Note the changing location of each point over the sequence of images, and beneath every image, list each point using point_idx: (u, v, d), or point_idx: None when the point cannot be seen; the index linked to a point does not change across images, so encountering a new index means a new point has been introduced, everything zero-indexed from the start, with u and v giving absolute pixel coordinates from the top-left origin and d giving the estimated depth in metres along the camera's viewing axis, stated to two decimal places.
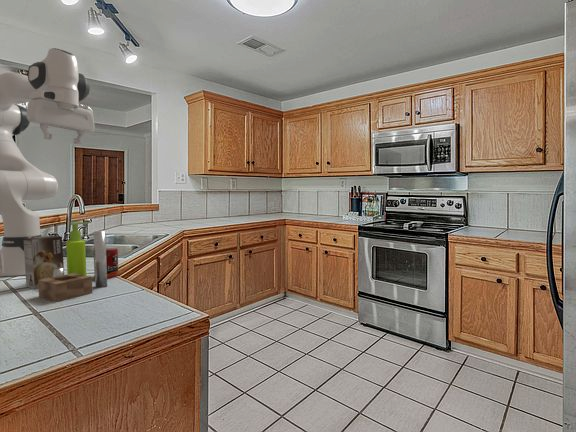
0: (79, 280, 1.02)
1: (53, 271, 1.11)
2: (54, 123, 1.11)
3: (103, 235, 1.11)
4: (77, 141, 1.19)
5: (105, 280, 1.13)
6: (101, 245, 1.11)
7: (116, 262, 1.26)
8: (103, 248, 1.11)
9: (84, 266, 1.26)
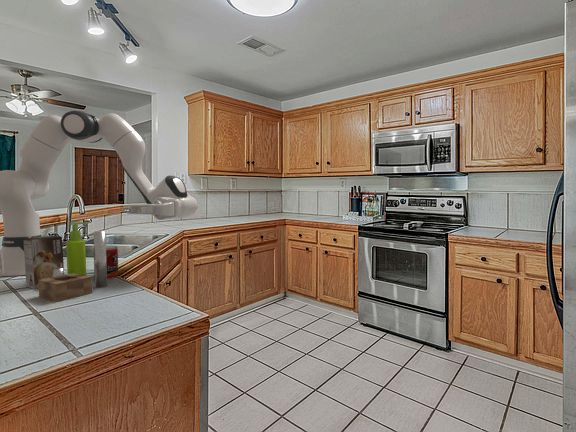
0: (79, 280, 1.02)
1: (53, 271, 1.11)
2: (150, 214, 1.25)
3: (103, 235, 1.11)
4: None
5: (105, 280, 1.13)
6: (101, 245, 1.11)
7: (116, 262, 1.26)
8: (103, 248, 1.11)
9: (84, 266, 1.26)
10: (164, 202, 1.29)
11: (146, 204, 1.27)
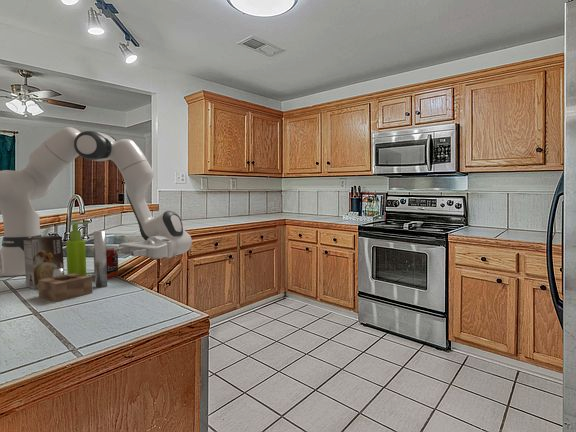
0: (79, 280, 1.02)
1: (53, 271, 1.11)
2: None
3: (103, 235, 1.11)
4: (118, 253, 1.23)
5: (105, 280, 1.13)
6: (101, 245, 1.11)
7: (116, 262, 1.26)
8: (103, 248, 1.11)
9: (84, 266, 1.26)
10: (157, 243, 1.27)
11: (139, 245, 1.25)
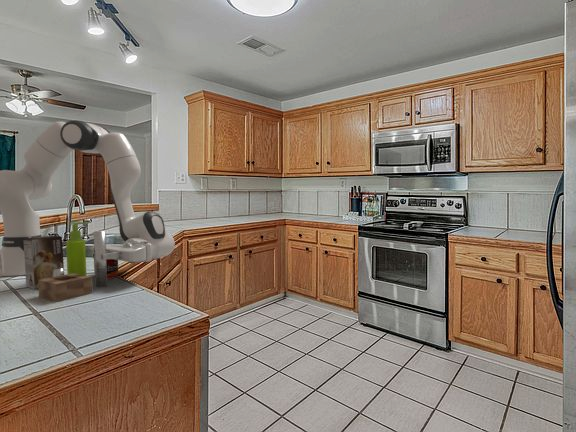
0: (79, 280, 1.02)
1: (53, 271, 1.11)
2: None
3: (103, 235, 1.11)
4: None
5: (105, 280, 1.13)
6: (101, 245, 1.11)
7: (116, 262, 1.26)
8: (103, 248, 1.12)
9: (84, 266, 1.26)
10: (135, 245, 1.19)
11: (115, 248, 1.16)
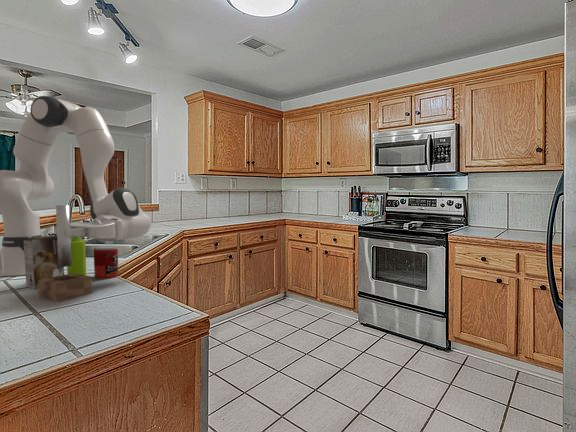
0: (79, 280, 1.02)
1: (53, 271, 1.11)
2: None
3: (67, 209, 1.01)
4: None
5: (69, 259, 1.03)
6: (64, 220, 1.01)
7: (116, 262, 1.26)
8: (67, 223, 1.02)
9: (84, 266, 1.26)
10: (104, 222, 1.09)
11: None
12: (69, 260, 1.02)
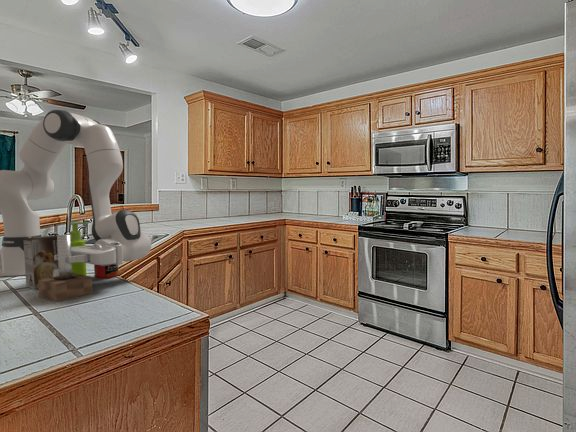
0: (79, 280, 1.02)
1: (53, 271, 1.11)
2: None
3: (68, 239, 1.02)
4: None
5: None
6: (65, 250, 1.01)
7: None
8: (68, 253, 1.02)
9: (84, 266, 1.26)
10: (105, 247, 1.09)
11: (82, 250, 1.07)
12: None
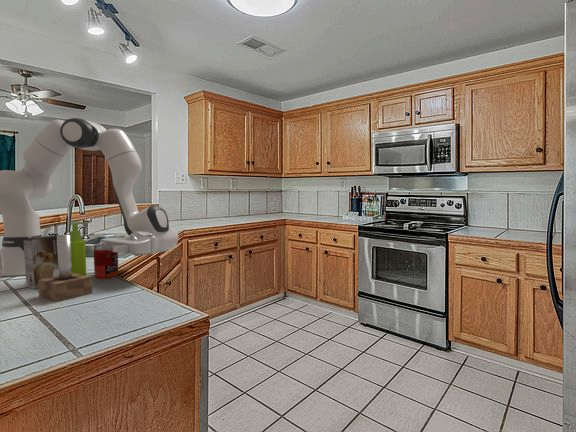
0: (79, 280, 1.02)
1: (53, 271, 1.11)
2: None
3: (67, 239, 1.02)
4: (97, 249, 1.16)
5: None
6: (65, 250, 1.01)
7: (116, 262, 1.26)
8: (67, 253, 1.02)
9: (84, 266, 1.26)
10: (140, 238, 1.21)
11: (120, 240, 1.18)
12: None
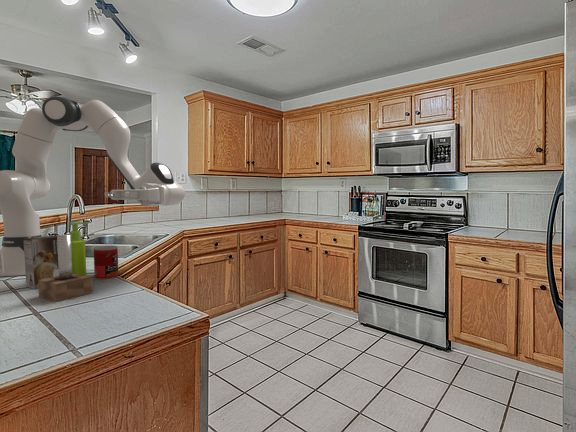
0: (79, 280, 1.02)
1: (53, 271, 1.11)
2: (135, 199, 1.21)
3: (68, 239, 1.02)
4: None
5: None
6: (65, 250, 1.01)
7: (116, 262, 1.26)
8: (68, 253, 1.02)
9: (84, 266, 1.26)
10: (149, 188, 1.25)
11: None
12: None
